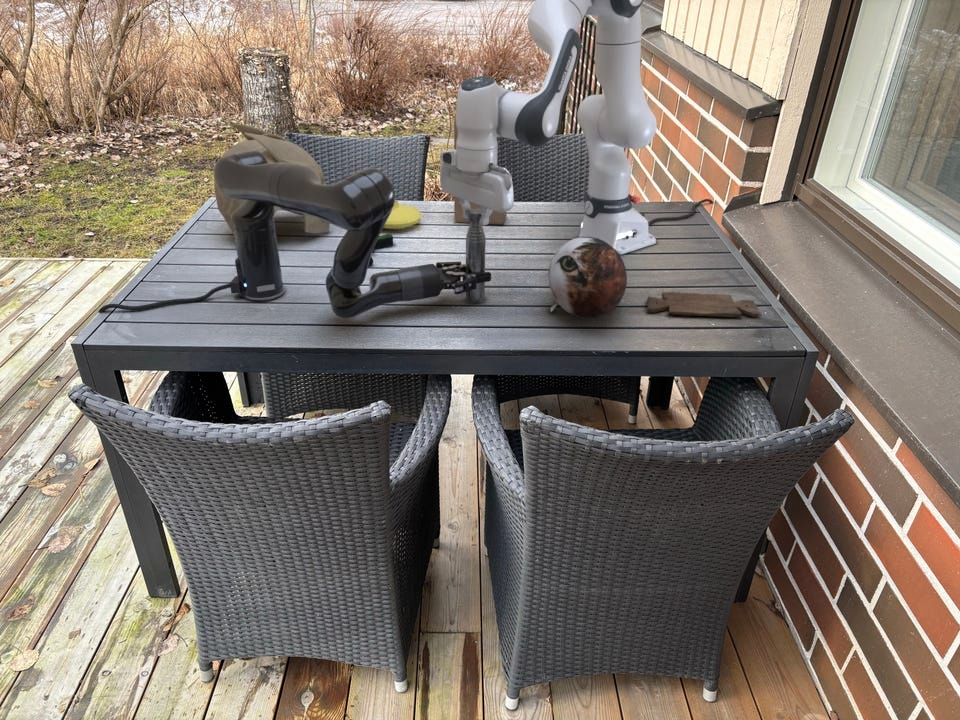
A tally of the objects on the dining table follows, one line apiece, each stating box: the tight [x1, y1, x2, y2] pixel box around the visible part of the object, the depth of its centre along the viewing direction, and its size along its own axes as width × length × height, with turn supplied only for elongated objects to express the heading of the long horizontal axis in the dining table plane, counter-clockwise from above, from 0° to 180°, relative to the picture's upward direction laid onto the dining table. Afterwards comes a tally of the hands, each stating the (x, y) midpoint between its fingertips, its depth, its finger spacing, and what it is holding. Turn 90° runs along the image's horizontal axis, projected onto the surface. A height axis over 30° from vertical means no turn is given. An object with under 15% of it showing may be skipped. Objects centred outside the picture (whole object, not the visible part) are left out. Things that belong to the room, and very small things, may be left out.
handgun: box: [368, 233, 394, 267], centre depth 191 cm, size 16×3×15 cm
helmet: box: [213, 123, 331, 235], centre depth 198 cm, size 27×30×30 cm
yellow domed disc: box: [383, 199, 423, 230], centre depth 210 cm, size 16×16×7 cm
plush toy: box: [547, 236, 628, 319], centre depth 161 cm, size 22×18×20 cm
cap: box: [468, 208, 484, 223], centre depth 159 cm, size 4×4×2 cm
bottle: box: [465, 222, 487, 305], centre depth 164 cm, size 4×4×21 cm
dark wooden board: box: [646, 291, 762, 318], centre depth 167 cm, size 26×2×10 cm
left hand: (485, 272), depth 167 cm, fingers closed on bottle, 4 cm apart
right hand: (475, 221), depth 159 cm, fingers closed on cap, 4 cm apart
